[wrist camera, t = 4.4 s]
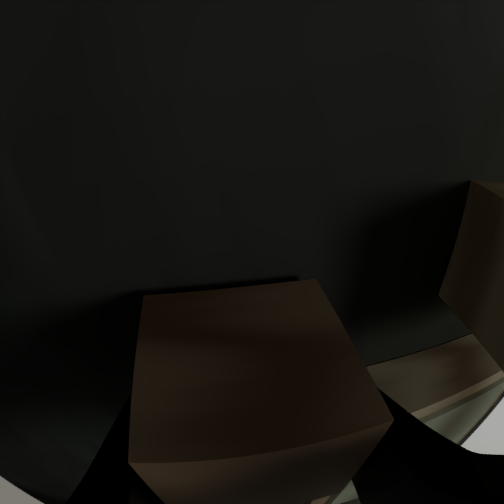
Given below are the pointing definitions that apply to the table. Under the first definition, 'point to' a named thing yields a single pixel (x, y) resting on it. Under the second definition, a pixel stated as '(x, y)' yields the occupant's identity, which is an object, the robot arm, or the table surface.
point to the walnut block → (250, 397)
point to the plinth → (438, 391)
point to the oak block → (480, 268)
